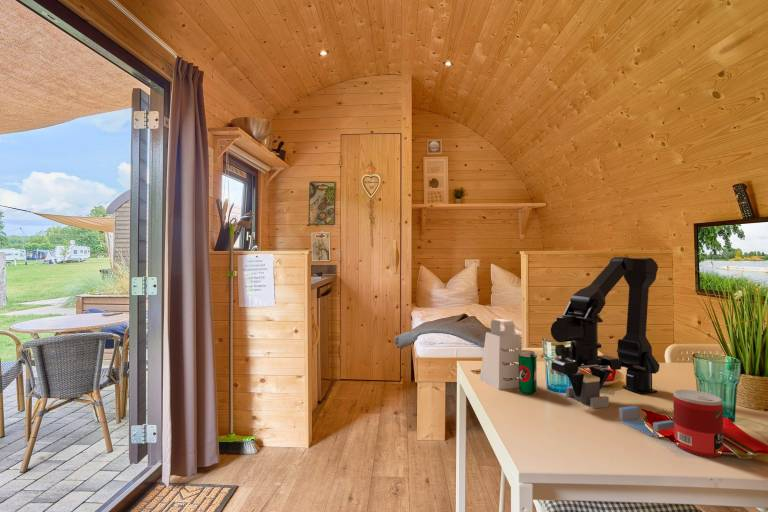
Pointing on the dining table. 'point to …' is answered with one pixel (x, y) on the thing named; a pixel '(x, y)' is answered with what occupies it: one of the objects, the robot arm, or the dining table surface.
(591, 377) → the box with lid
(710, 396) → the canned food
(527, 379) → the soda can
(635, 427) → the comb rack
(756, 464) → the dining table surface
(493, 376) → the grater
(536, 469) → the dining table surface
